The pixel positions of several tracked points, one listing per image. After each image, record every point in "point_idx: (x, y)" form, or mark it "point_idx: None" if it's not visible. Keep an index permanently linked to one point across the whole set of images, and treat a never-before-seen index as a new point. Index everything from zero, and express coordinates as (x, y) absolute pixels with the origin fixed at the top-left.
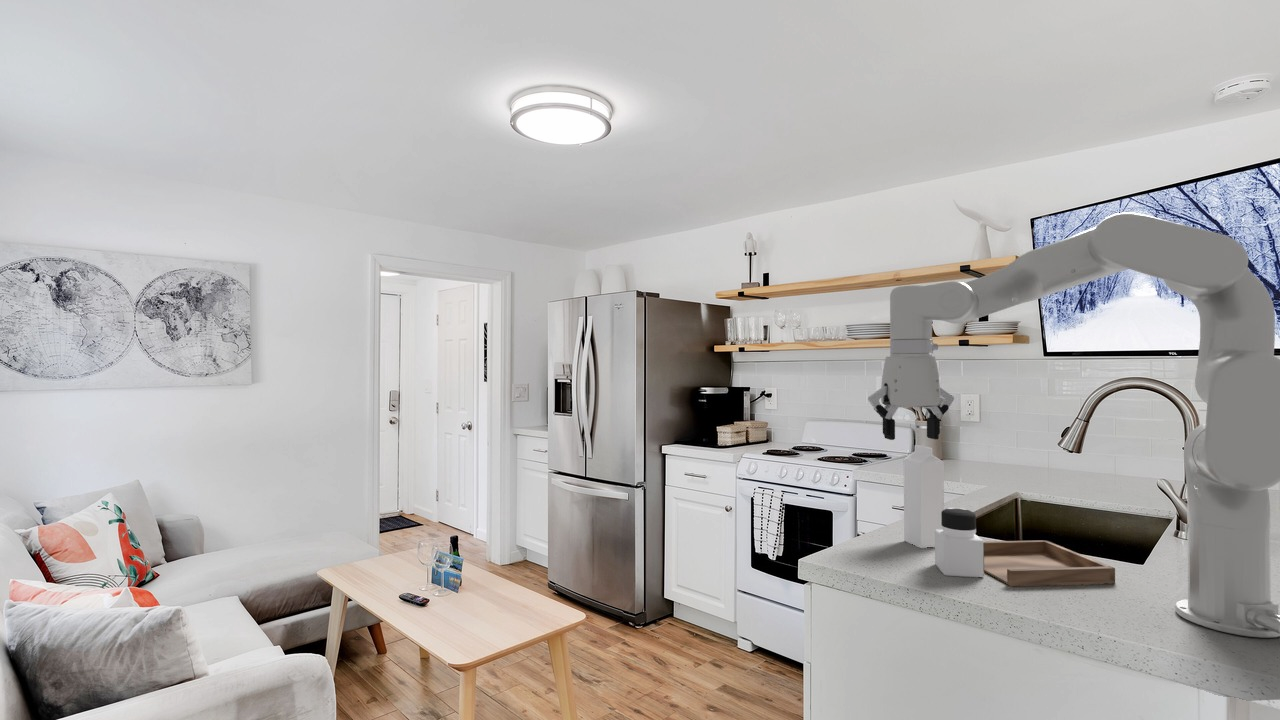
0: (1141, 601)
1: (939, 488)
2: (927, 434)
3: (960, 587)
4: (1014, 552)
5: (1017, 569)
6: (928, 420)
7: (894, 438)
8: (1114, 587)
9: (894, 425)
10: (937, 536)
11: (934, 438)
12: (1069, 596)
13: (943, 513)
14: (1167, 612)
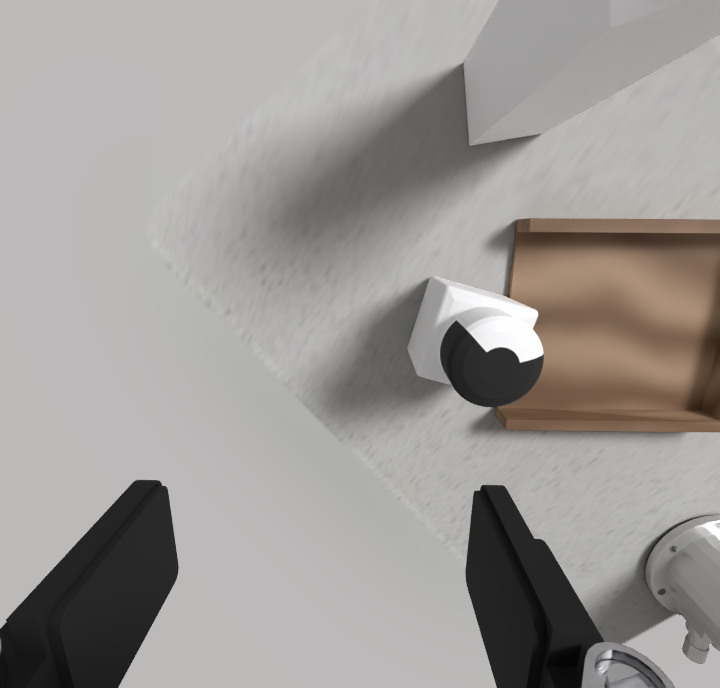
0: (661, 490)
1: (636, 72)
2: (480, 508)
3: (399, 410)
4: (668, 233)
5: (525, 424)
6: (522, 633)
7: (173, 576)
8: (684, 432)
9: (117, 680)
10: (433, 316)
11: (466, 577)
12: (562, 462)
13: (448, 360)
14: (654, 529)
